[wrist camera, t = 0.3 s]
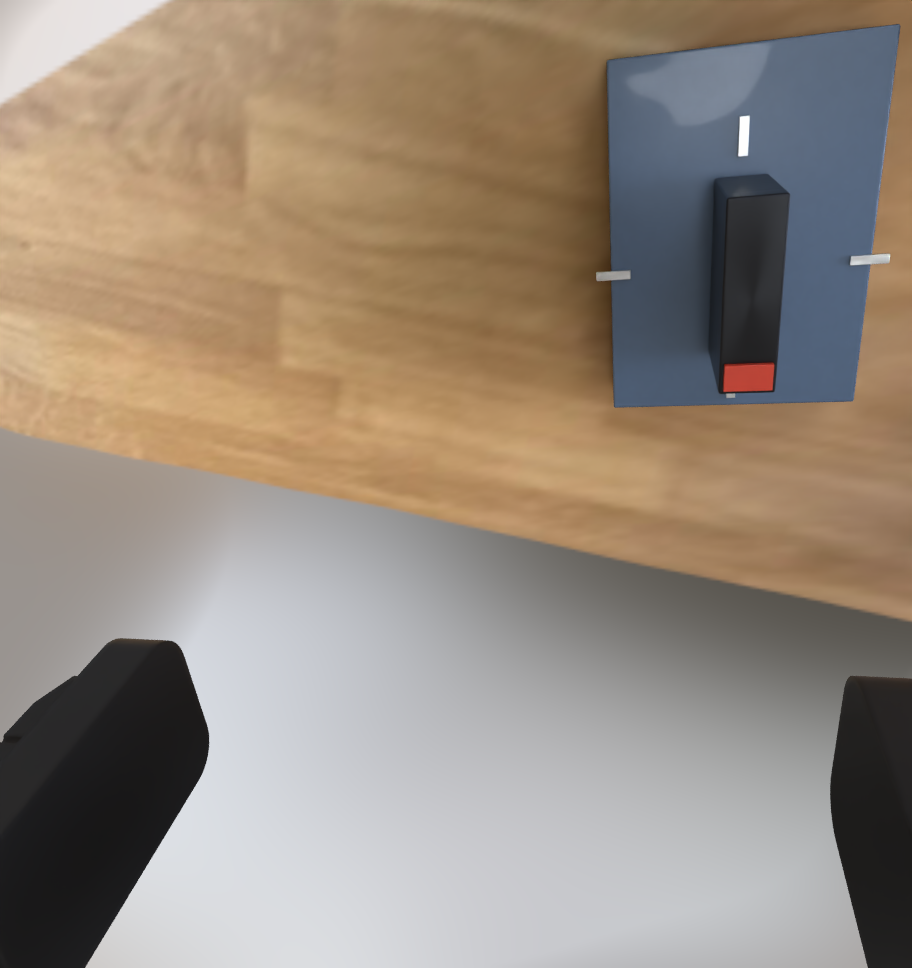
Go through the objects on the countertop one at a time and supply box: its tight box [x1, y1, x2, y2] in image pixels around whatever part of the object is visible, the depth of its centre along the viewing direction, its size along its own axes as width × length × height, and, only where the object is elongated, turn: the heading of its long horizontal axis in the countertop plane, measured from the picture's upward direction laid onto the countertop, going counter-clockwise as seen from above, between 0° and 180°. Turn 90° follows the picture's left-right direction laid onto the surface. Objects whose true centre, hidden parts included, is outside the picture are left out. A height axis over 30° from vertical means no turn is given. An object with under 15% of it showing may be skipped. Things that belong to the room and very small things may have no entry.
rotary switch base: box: [596, 24, 900, 407], centre depth 33 cm, size 14×11×3 cm
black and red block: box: [708, 174, 790, 394], centre depth 30 cm, size 7×2×5 cm, turn 6°
